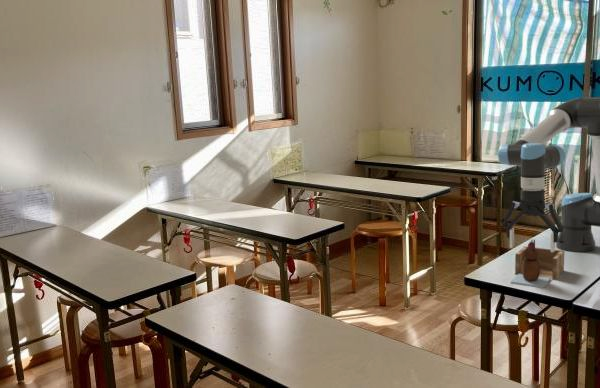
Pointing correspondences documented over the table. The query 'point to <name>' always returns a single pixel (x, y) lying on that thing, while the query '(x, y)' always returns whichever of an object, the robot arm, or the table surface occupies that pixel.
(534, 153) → the robot arm
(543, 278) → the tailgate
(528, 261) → the wooden figurine
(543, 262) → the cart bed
